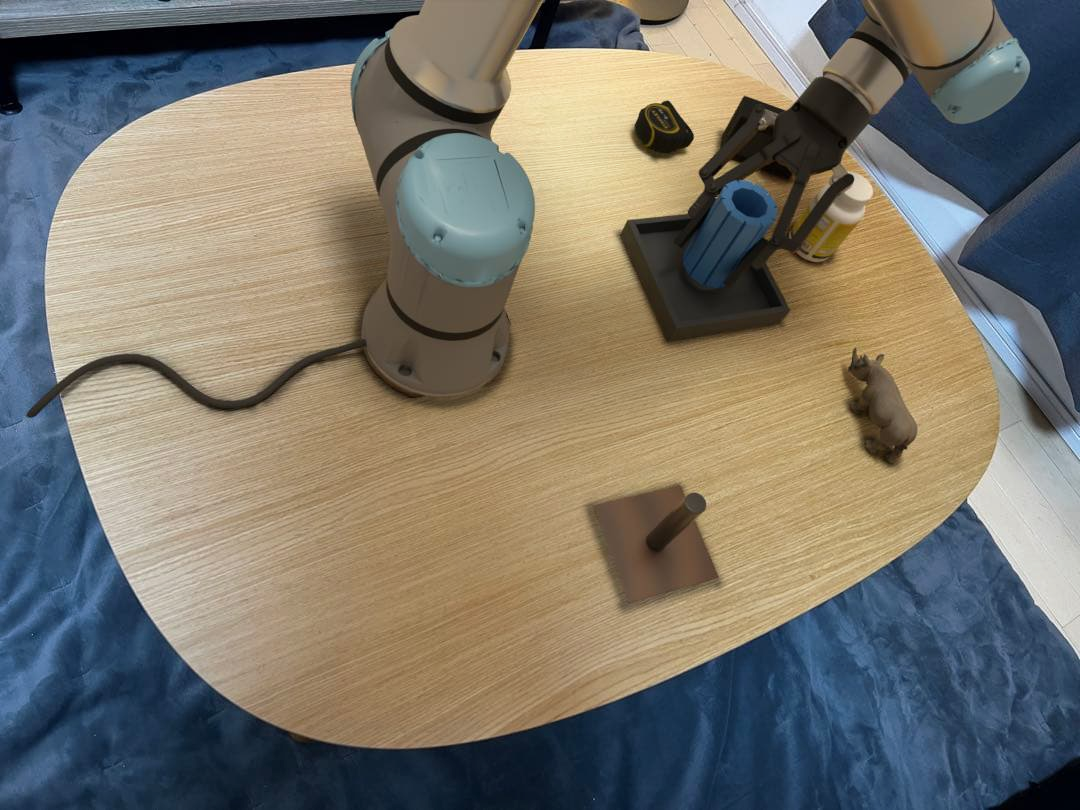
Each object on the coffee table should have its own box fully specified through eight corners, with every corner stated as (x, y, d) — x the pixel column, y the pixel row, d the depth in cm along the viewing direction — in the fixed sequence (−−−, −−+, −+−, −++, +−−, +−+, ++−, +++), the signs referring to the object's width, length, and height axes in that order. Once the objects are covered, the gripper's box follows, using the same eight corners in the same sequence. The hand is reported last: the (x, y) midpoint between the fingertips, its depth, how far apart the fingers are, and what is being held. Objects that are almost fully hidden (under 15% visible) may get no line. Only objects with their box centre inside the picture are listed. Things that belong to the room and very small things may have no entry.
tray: (667, 342, 97) (676, 328, 94) (619, 234, 103) (627, 219, 100) (779, 323, 102) (790, 310, 100) (727, 223, 108) (737, 208, 106)
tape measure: (688, 153, 113) (700, 132, 110) (647, 163, 110) (658, 142, 107) (663, 117, 115) (673, 95, 112) (621, 125, 112) (631, 103, 109)
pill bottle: (833, 238, 112) (882, 179, 102) (827, 271, 108) (876, 213, 99) (791, 219, 112) (835, 158, 102) (783, 251, 108) (828, 191, 99)
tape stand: (625, 606, 80) (667, 569, 71) (589, 509, 84) (625, 463, 75) (714, 580, 84) (766, 542, 74) (676, 489, 88) (721, 442, 78)
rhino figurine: (857, 359, 102) (886, 332, 97) (901, 463, 96) (934, 439, 91) (828, 361, 101) (856, 334, 96) (871, 466, 95) (903, 442, 90)
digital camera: (717, 160, 114) (740, 121, 108) (721, 134, 116) (744, 94, 111) (788, 186, 115) (815, 148, 109) (791, 159, 117) (816, 120, 112)
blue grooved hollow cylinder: (696, 291, 98) (737, 229, 89) (674, 246, 100) (712, 181, 91) (742, 284, 100) (787, 223, 91) (720, 241, 103) (761, 177, 93)
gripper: (914, 159, 92) (769, 322, 98) (775, 53, 96) (642, 216, 101) (924, 144, 85) (767, 320, 91) (774, 29, 88) (631, 206, 94)
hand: (702, 265), depth 96 cm, fingers closed on blue grooved hollow cylinder, 7 cm apart
